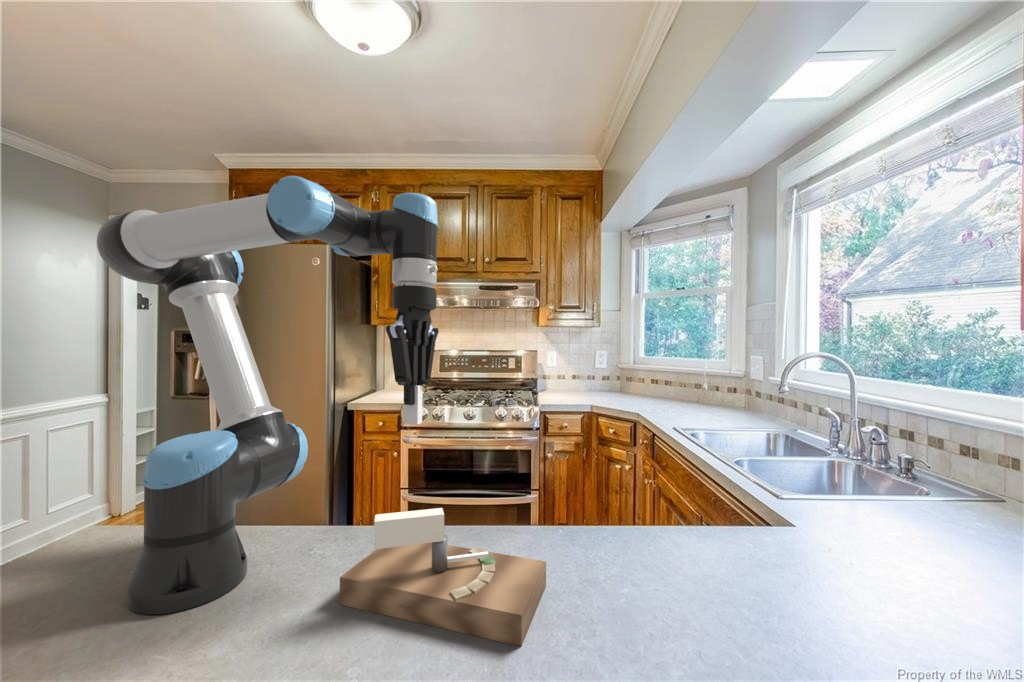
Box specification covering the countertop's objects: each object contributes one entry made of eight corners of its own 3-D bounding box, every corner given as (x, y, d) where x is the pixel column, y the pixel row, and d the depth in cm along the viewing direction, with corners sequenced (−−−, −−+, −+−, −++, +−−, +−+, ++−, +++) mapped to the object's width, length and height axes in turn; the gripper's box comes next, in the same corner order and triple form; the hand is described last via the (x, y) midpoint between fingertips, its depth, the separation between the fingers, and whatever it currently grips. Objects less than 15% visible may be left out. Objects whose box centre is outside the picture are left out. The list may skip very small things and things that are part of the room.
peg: (374, 581, 61) (374, 521, 61) (374, 572, 63) (375, 514, 63) (489, 564, 65) (490, 509, 65) (486, 556, 68) (486, 503, 68)
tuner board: (339, 604, 62) (339, 575, 62) (394, 557, 76) (395, 533, 76) (521, 646, 54) (521, 612, 54) (546, 584, 68) (546, 558, 68)
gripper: (412, 280, 65) (410, 432, 65) (451, 290, 78) (450, 418, 78) (372, 282, 68) (370, 428, 68) (416, 291, 80) (415, 415, 80)
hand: (413, 422), depth 73 cm, fingers closed
